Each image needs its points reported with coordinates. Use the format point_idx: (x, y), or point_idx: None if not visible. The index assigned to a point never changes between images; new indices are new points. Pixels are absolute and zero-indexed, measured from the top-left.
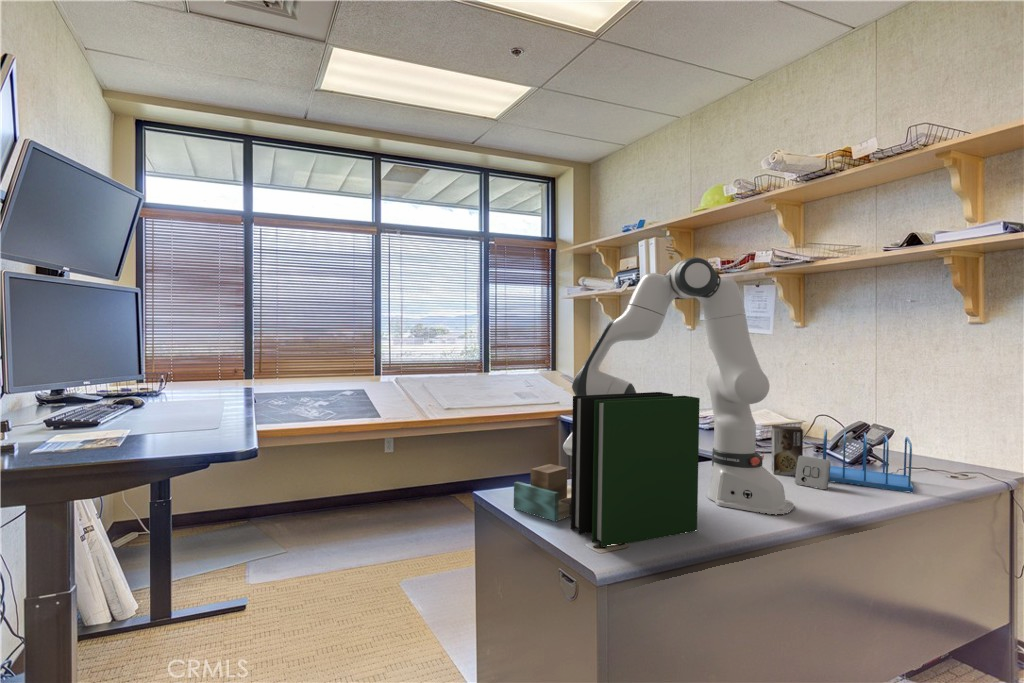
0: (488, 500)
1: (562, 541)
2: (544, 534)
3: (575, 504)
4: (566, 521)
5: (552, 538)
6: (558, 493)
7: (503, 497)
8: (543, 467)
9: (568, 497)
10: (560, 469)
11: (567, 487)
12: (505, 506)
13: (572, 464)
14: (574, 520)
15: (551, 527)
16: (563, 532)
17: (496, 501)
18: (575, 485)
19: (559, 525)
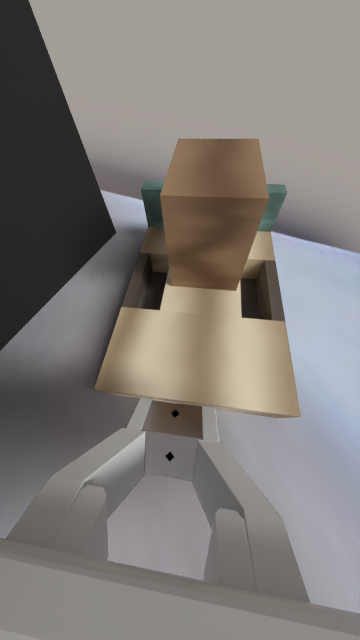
0: (343, 251)
1: (109, 201)
2: (141, 204)
3: (90, 190)
4: (137, 251)
5: (125, 201)
6: (141, 191)
7: (347, 282)
8: (241, 161)
9: (168, 289)
10: (170, 172)
11: (236, 378)
12: (283, 246)
13: (37, 33)
14: (105, 222)
15: (146, 223)
16: (120, 219)
17: (326, 255)
18: (69, 136)
19: (139, 233)
